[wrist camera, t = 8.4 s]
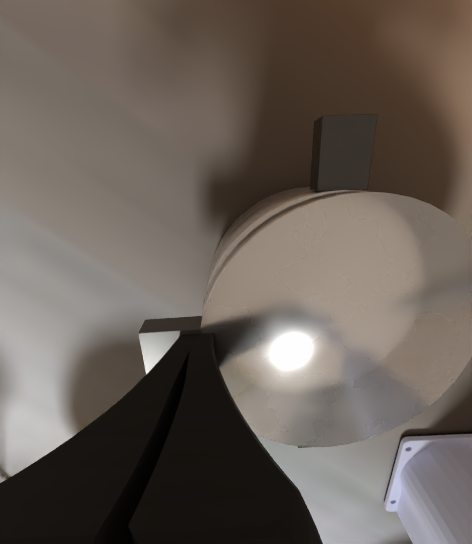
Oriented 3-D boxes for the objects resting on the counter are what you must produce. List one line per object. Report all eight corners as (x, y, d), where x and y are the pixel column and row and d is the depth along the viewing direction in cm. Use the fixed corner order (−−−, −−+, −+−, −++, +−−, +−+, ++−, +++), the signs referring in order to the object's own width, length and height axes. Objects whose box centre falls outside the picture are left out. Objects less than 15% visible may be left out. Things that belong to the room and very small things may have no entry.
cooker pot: (374, 385, 20) (420, 450, 15) (217, 391, 19) (213, 460, 15) (425, 130, 14) (528, 106, 9) (198, 138, 13) (182, 117, 9)
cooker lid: (431, 417, 14) (446, 434, 13) (167, 442, 13) (163, 463, 12) (504, 185, 10) (534, 185, 9) (123, 199, 9) (113, 202, 8)
